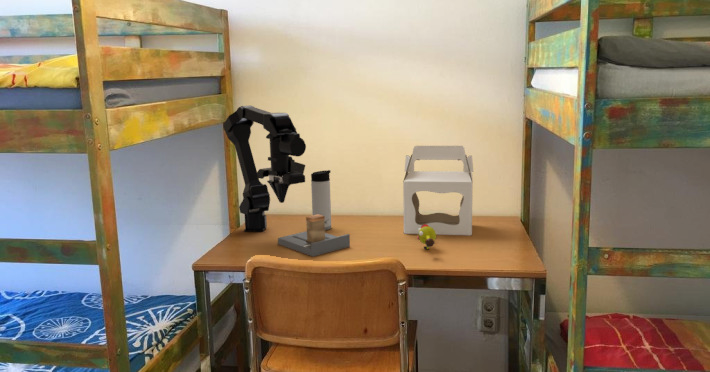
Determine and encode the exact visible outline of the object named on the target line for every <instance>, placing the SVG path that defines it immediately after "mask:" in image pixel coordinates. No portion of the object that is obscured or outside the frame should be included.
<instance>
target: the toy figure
mask: <svg viewBox="0 0 710 372" xmlns="http://www.w3.org/2000/svg"><path fill="white" fill-rule="evenodd" d="M418 232H419V233H418V234H417V237H416V238H417V240H418V241H420V242H421V243H422V244H423V245H425V246H423V250H426V251H428V250H430V248H431V247H433V246H434V244H435V240H436V237H437V235H436V233H435V230H434V229H433V228H431V227H429V226H428V225H427V224H424V225H422V226H421V228H419V229H418Z"/></svg>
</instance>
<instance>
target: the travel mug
mask: <svg viewBox="0 0 710 372" xmlns="http://www.w3.org/2000/svg"><path fill="white" fill-rule="evenodd" d="M330 174H331V170H330V169H327V170H318V171H314V172H312V173H311V174H310V176H311V177H310V178H311V179H310V182H311V184H310V186H311V189H310V190H311V207H312V208H311V210H312V211H311V212H312V213H311V214H312V215H311V216H313V215H317V214H319V215H323V216H325V219H324V223H325V231H328V230H330V229H332V208H331V206H332V205H331V204H332V203H331V182H330V181H331V179H330V178H331V177H330V176H331V175H330Z"/></svg>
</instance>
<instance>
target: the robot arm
mask: <svg viewBox="0 0 710 372" xmlns="http://www.w3.org/2000/svg"><path fill="white" fill-rule="evenodd" d="M254 123H256V124H259V125H261V126H262V127H263V129H264V130H265V131H267V132H268V134H266V137H265V138H266V139H268V140H269V152H270V153H269V155H270V156H268V157H267V161H270V167H265V168H264V167H263V168H259V169H258V171H257V167H256V163H255V160H254V156H253V153H252V148H251V145H250V142H249V141H250V137H251V135H252V129H251V128H252V126H253V125H254ZM223 130H224V132H225V134H226V136H227V139H228V140H229V141H230V142H231V143H232V144H233V146H234V148H235V151H236V156H237V159H238V162H239V167H240V170H241V174H242V178H243V183H244V189H243V192H242V197H243V198H242V201H241V203H240V205H239V206H238V209H239V213H240V214H243V215H244V229H243V232H245V233H246V232H264V231H265V230H266V228H267V227H268V222H267V214H266V213H265V212H268V211H269V210H270V209H269V208H270V204H271V197H270V196H271V195H270V192H269V189H268V185H267V184H266V183H265V184H263V183H262V182H261V181H260V180H263V179H264V178H265V177H268V178H269V180H267V183H268V184H269V186H270V187H271V189H272V191H273V193H274V195H275V196H276V199H277V200H278V202H279V203H281V204H282V203H285V201H286V196H287V194H288V190H289V188H290V186H291V185H297V184H303V183H306V175H304V173H305V169H306V164H304V163H301V162H298V161H297V162H296V161H295V159H293V157H301V156H303V155H304V154H305V152H306V149H307V145H306V142H305V140H304V139H303V138H301V134H300V133H298V132H297V128H296V127H295V125H294V123H293V121H292V119H291V117H290V115H289V114H288V113H287V112H270V111H268V110H267V111H266V110H265V109H261V108H259V107H258V108H257V107H255V106H253V105H240V106H239V107H238V108H237V109H236V110H235V111H233V113H231V114H229V115H228V117H227V118H226V120H225V121H224V123H223Z"/></svg>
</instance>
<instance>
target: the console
mask: <svg viewBox="0 0 710 372" xmlns="http://www.w3.org/2000/svg"><path fill="white" fill-rule="evenodd" d="M306 239H307V230H305V231H301V232H298V233H294V234H293V233H291V234H289V235H284V236H281V237H277V244H278V245H280V246H282V247H285V248H287V249H291V250H294V251H297V252H299V253H302V254H303V255H307V256H310V257H317V256H320V255H324V254H328V253H330V252H331V253H332V252H334V251H338V250H339V251H340V250H341V249H346V248H350V247H351V243H350V242H351V241H350V240H351V239H350V234H348V233H347V234H342V235H338V236H337V235H334V234H330V233H327V232H325V240H322V241H318V242H314V243H311V244H310V243H307V242H306Z"/></svg>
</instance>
